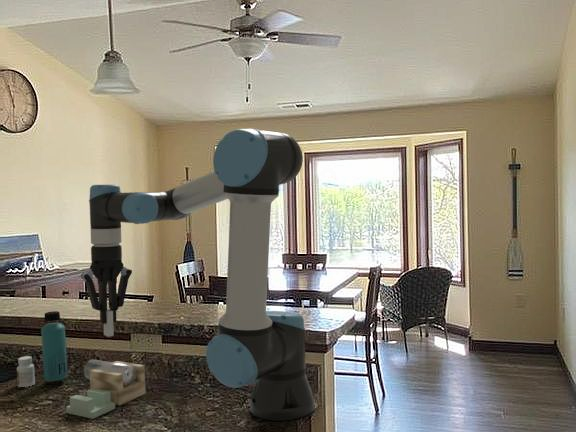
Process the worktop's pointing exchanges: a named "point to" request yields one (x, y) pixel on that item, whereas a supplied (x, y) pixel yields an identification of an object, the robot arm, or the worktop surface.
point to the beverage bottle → (54, 348)
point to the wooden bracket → (119, 383)
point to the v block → (91, 404)
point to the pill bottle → (25, 372)
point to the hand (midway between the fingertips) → (108, 335)
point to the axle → (112, 370)
